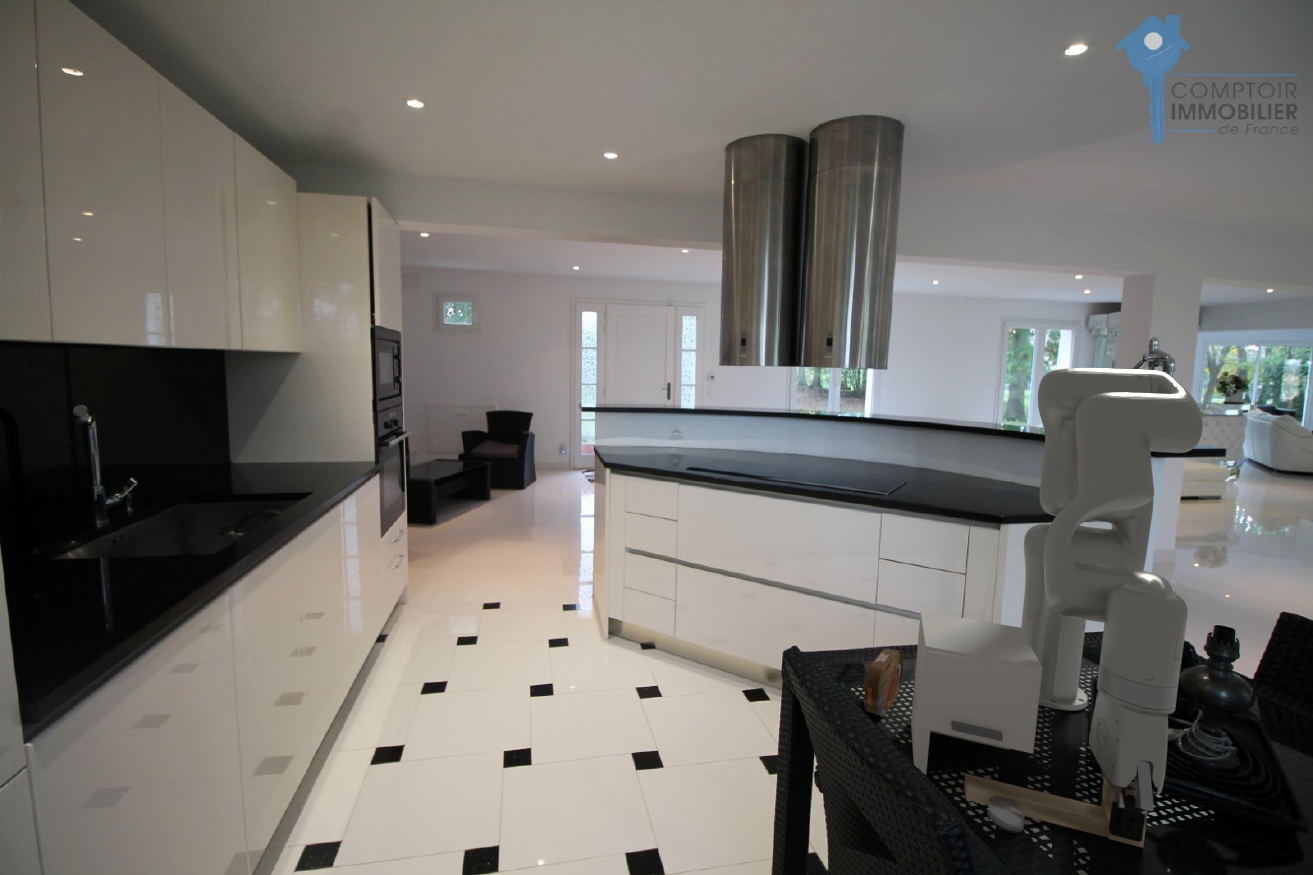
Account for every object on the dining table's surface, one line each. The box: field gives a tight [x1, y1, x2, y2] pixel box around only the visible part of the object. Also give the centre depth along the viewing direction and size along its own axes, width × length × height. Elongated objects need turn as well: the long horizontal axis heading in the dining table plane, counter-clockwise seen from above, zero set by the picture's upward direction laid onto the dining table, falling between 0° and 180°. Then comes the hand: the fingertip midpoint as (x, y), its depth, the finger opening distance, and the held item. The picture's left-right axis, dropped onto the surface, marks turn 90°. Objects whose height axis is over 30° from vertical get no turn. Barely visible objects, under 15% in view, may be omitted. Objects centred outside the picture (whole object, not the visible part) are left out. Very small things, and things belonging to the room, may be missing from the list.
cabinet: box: [910, 611, 1043, 776], centre depth 86 cm, size 16×14×19 cm
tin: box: [863, 648, 904, 718], centre depth 103 cm, size 15×3×8 cm, turn 143°
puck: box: [987, 796, 1026, 833], centre depth 76 cm, size 4×4×2 cm
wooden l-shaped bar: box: [963, 773, 1149, 849], centre depth 77 cm, size 4×19×6 cm, turn 68°
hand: (1118, 823), depth 74 cm, fingers closed on wooden l-shaped bar, 3 cm apart
